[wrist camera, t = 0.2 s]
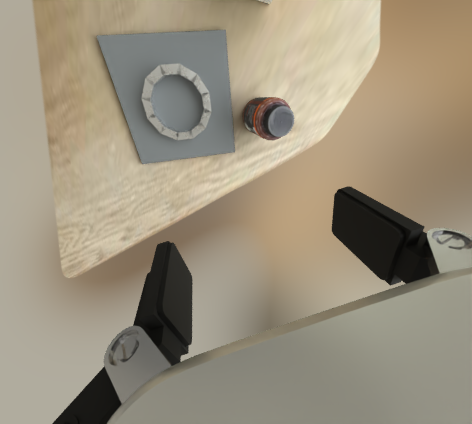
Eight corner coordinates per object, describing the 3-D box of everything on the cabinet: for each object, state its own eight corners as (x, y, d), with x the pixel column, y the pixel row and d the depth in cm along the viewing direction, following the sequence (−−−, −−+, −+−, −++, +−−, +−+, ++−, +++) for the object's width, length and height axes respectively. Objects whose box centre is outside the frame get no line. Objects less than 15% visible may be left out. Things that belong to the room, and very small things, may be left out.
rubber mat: (98, 37, 26) (96, 35, 25) (224, 31, 28) (225, 29, 28) (143, 162, 36) (142, 164, 35) (234, 151, 38) (235, 152, 37)
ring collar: (135, 68, 28) (131, 66, 26) (204, 63, 29) (205, 61, 27) (156, 140, 33) (154, 143, 32) (213, 134, 35) (214, 135, 33)
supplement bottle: (245, 136, 37) (263, 148, 27) (239, 102, 34) (257, 103, 24) (273, 128, 37) (301, 138, 28) (270, 93, 34) (300, 92, 24)
